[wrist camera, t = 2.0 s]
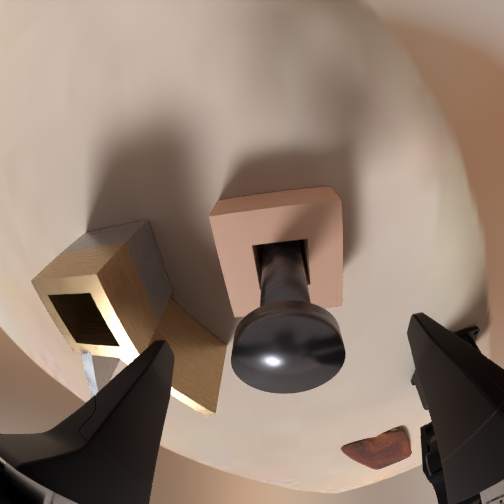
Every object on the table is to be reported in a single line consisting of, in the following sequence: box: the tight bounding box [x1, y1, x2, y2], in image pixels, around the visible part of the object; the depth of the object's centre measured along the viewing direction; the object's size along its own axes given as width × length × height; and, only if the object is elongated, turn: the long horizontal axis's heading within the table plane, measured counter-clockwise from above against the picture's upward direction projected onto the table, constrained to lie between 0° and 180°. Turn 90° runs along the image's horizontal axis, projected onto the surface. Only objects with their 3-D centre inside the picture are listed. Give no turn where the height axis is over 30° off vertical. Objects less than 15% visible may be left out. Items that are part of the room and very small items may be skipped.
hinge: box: [31, 220, 227, 416], centre depth 15 cm, size 10×11×6 cm
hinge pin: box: [231, 240, 345, 393], centre depth 12 cm, size 4×4×8 cm
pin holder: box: [209, 186, 343, 317], centre depth 14 cm, size 6×6×2 cm
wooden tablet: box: [341, 427, 412, 469], centre depth 33 cm, size 27×10×2 cm, turn 32°
